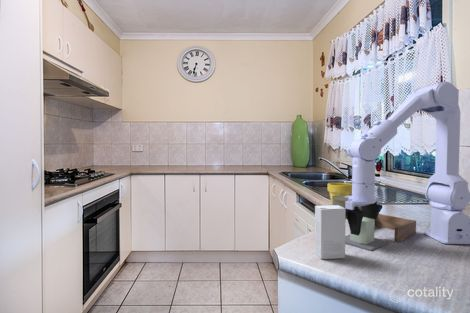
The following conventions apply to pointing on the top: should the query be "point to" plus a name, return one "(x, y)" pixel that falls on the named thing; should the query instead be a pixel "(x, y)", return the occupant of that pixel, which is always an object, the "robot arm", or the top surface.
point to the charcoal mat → (369, 246)
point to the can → (341, 201)
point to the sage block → (365, 231)
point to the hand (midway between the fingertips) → (362, 231)
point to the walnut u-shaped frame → (397, 226)
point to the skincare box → (330, 231)
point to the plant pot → (339, 189)
